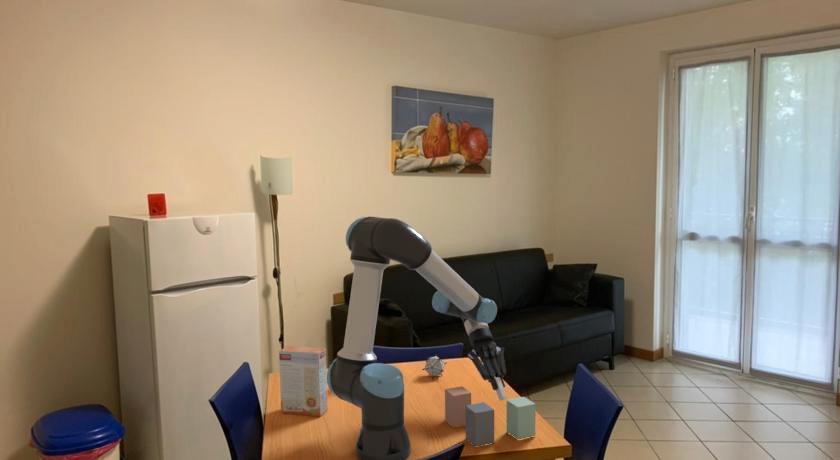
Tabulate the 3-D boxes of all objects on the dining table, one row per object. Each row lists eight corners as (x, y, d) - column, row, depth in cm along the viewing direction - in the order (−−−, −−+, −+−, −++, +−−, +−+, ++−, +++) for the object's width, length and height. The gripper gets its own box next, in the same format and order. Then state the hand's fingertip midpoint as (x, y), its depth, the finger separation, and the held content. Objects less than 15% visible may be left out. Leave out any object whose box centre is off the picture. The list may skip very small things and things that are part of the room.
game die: (430, 387, 217) (414, 368, 215) (436, 372, 225) (420, 353, 223) (449, 379, 213) (433, 359, 211) (454, 364, 220) (438, 345, 218)
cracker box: (328, 410, 187) (326, 347, 185) (320, 417, 182) (318, 353, 180) (289, 406, 191) (287, 344, 189) (280, 413, 185) (278, 350, 183)
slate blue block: (494, 443, 163) (494, 409, 162) (475, 447, 160) (475, 413, 159) (483, 435, 168) (483, 402, 167) (465, 438, 166) (465, 405, 165)
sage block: (535, 437, 166) (535, 403, 166) (517, 441, 164) (517, 407, 163) (523, 428, 172) (523, 396, 171) (506, 432, 170) (506, 399, 169)
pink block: (471, 424, 175) (471, 392, 175) (453, 427, 173) (453, 395, 172) (462, 417, 181) (462, 386, 180) (445, 420, 179) (444, 389, 178)
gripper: (491, 336, 197) (516, 400, 183) (457, 340, 192) (480, 406, 178) (499, 324, 191) (526, 390, 177) (464, 328, 186) (488, 396, 172)
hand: (503, 398), depth 178 cm, fingers closed
